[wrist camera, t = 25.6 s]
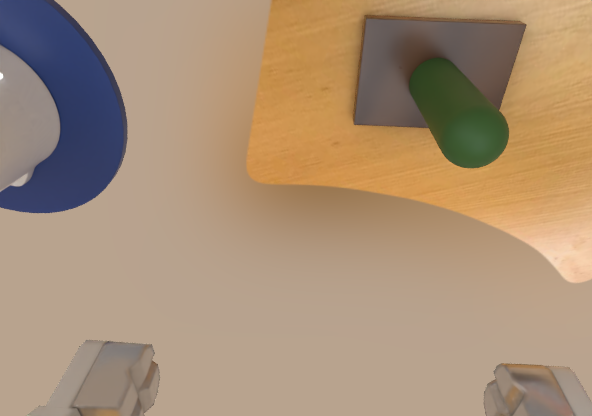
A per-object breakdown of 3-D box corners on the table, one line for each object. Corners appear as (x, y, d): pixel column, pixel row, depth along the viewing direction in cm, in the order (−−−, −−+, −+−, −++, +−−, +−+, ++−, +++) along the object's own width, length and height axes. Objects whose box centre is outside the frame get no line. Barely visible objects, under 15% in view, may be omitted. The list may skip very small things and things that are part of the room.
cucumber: (404, 104, 41) (440, 178, 29) (414, 56, 38) (457, 115, 26) (452, 106, 40) (506, 181, 29) (464, 58, 38) (530, 119, 26)
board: (352, 119, 43) (353, 124, 42) (364, 15, 38) (365, 18, 36) (487, 125, 43) (492, 130, 42) (520, 21, 37) (527, 24, 36)
